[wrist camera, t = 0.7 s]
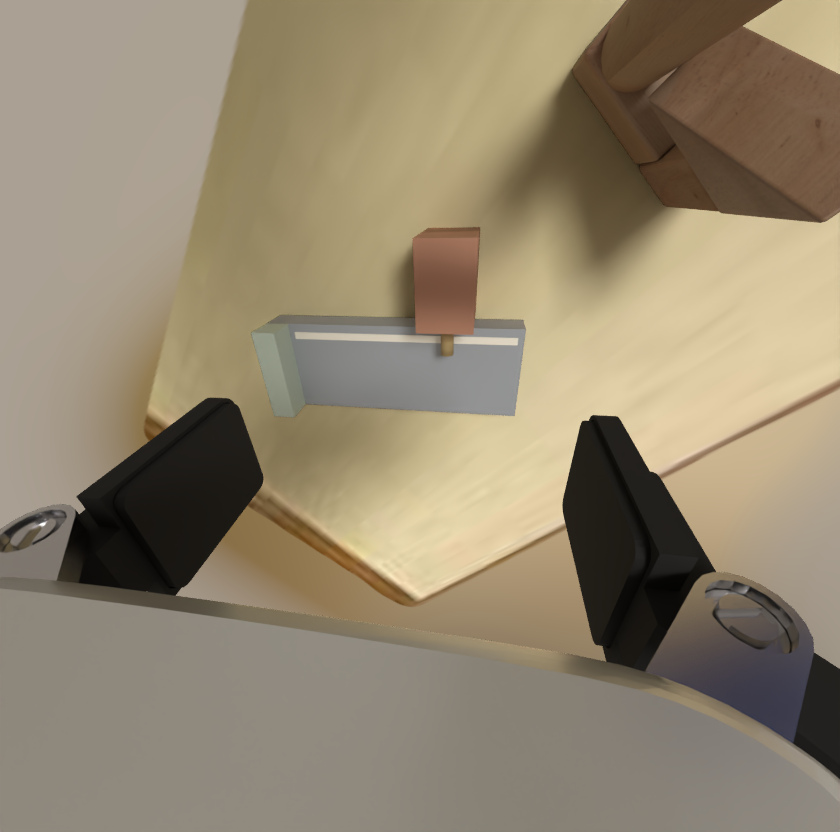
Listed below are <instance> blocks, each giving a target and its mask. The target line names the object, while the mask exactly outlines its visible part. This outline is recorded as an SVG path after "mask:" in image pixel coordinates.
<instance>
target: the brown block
mask: <svg viewBox="0 0 840 832" xmlns="http://www.w3.org/2000/svg"><path fill="white" fill-rule="evenodd" d="M479 241H480V227H473V228H428V229H426V230H425V231H423V232H422V233H420V234H419V235H417V236H416V237H414V238H413V264H414V294H415V324H416V333H422V334H441V355H442V356H445V357H450V356H453V354H454V334H461V335H473V334H474V323H475V312H476V296H477V278H478V259H479Z"/></svg>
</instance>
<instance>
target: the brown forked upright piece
mask: <svg viewBox="0 0 840 832" xmlns="http://www.w3.org/2000/svg"><path fill="white" fill-rule="evenodd" d="M780 1H782V0H626V1H625V3H624V4H623V5H622V6H621V7H620V9H619V10H618V11H617V12H616V13H615V14H614V16H613V17H612V18H611V19H610V20H609V22H608V23H607V24H606V25H605V26H604V28H603V29H602V30H601V31H600V32H599V33H598V35H597V36H596V37H595V38H594V39H593V41H592V42H591V43H590V44H589V45H588V46H587V48H586V49H585V50H584V52H583V53H582V55H581V56H580V58H579V59H578V60H577V62H576V63H575V65H574V67H573V69H572V71H573V75H574V76H575V78H576V79H577V81H578V82H579V84H580V85H581V87H582V88H583V89H584V91H585V92H586V94H587V95H588V97H589V98H590V99H591V101H592V102H593V104H594V105H595V107H596V108H597V110H598V111H599V112H600V114H601V115H602V117H603V118H604V120H605V121H606V122H607V124H608V125H609V127H610V128H611V130H612V131H613V133H614V134H615V135H616V137H617V138H618V140H619V141H620V143H621V144H622V145H623V147H624V148H625V150H626V151H627V153H628V154H629V156H630V157H631V158H632V160H633V161H634V163H636V164H641V165H640V166H639V167H640V172H641V173H642V174H643V176H644V177H645V179H646V180H647V182H648V183H649V184H650V186H651V187H652V189H653V190H654V192H655V193H656V194H657V196H658V197H659V199H660V200H661V202H662V203H663V205H665V206H667V207H676V208H687V209H698V210H709V211H719V212H721V213H725V214H735V215H746V216H756V217H766V218H777V219H787V220H797V221H808V222H818V223H821V222H825V221H827V220H829V219H830V218H832V217H833V216H834V215H836V214H837V213H839V212H840V74H838V73H836V72H834V71H832V70H829V69H827V68H825V67H823V66H821V65H819V64H817V63H815V62H813V61H811V60H809V59H807V58H805V57H803V56H801V55H799V54H797V53H795V52H793V51H791V50H789V49H787V48H785V47H783V46H781V45H779V44H777V43H775V42H773V41H771V40H769V39H767V38H765V37H763V36H761V35H759V34H757V33H755V32H753V31H751V30H749V29H747V28H745V27H743V25H744V24H746V23H747V22H749V21H750V20H752V19H754V18H755V17H757V16H758V15H760V14H761V13H763V12H764V11H766V10H768V9H769V8H771V7H772V6H774V5H775V4H777V3H778V2H780Z"/></svg>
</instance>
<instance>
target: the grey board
mask: <svg viewBox="0 0 840 832" xmlns="http://www.w3.org/2000/svg"><path fill="white" fill-rule="evenodd" d="M525 332H526V328H525V325H524V321H523V320H501V319H475V323H474V334H473V335H461V334H454V354H453V356H450V357H445V356H442V355H441V334H422V333H416V324H415V318H399V317H349V316H298V315H280V316H278V317H276V318H275V319H273V320H271V321H270V322H268V323H266V324H265V325H263V326H261V327H260V328H258V329H257V330H255V331H253V332H252V333H251V335H252V339H253V342H254V346H255V349H256V353H257V356H258V360H259V364H260V367H261V371H262V374H263V378H264V381H265V385H266V388H267V392H268V395H269V399H270V403H271V406H272V410H273V413H274V416H279V417H295V416H296V415H297V414H298V413H299V411H300V410H301V409H302V408H303V407H304V406H305V404H314V405H331V406H348V407H366V408H383V409H401V410H418V411H435V412H453V413H470V414H488V415H505V416H515V409H516V401H517V393H518V386H519V378H520V370H521V363H522V355H523V347H524V340H525Z"/></svg>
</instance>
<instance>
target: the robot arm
mask: <svg viewBox="0 0 840 832" xmlns="http://www.w3.org/2000/svg"><path fill="white" fill-rule="evenodd" d="M262 484H263V474H262V471H261V468H260V465H259V462H258V459H257V457H256V454H255V451H254V448H253V445H252V443H251V440H250V437H249V434H248V431H247V428H246V426H245V423H244V420H243V417H242V414H241V412H240V409H239V407H238V406H237V405H236V404H234V402H233V401H232V400H230V399H227V398H207V399H205V400H204V401H202V402H201V403H200V404H198V405H197V406H196V407H194V408H193V409H192V410H190V411H189V412H188V413H186V414H185V415H184V416H182V417H181V418H180V419H178V420H177V421H176V422H174V423H173V424H172V425H170V426H169V427H168V428H167V429H165V430H164V431H163V432H161V433H160V434H159V435H157V436H156V437H155V438H153V439H152V440H151V441H149V442H148V443H147V444H146V445H144V446H143V447H141V448H140V449H139V450H137V451H136V452H135V453H133V454H132V455H131V456H129V457H128V458H127V459H125V460H124V461H123V462H121V463H120V464H119V465H118V466H116V467H115V468H113V469H112V470H111V471H109V472H108V473H107V474H106V475H104V476H103V477H102V478H100V479H99V480H98V481H97V482H95V483H94V484H92V485H91V486H90V487H88V488H87V489H86V490H84V491H83V492H82V493H80V494H79V495H78V496H77V498H78V499H79V501H80V502H81V503H82V504H83V506H84V507H85V510H84V511H83V512H82V513H80V514H78V512H77V511H76V510H75V509H74V508H73V507H72V506H70V505H65V504H61V505H51V506H47V507H44V508H40V509H37V510H35V511H32V512H30V513H27V514H25V515H23V516H21V517H19V518H17V519H15V520H14V521H12V522H10V523H9V524H7V525H6V526H4V527H3V528H1V529H0V832H840V669H839V668H837V667H836V666H834V665H833V664H831V663H829V662H828V661H826V660H825V659H823V658H822V657H820V656H819V655H817V654H816V653H814V642H813V637H812V635H811V633H810V631H809V629H808V627H807V625H806V623H805V622H804V621H803V619H802V618H801V617H800V616H799V615H798V613H797V612H796V611H795V610H794V609H793V608H792V607H791V606H790V605H789V604H788V603H786V602H785V601H784V600H783V599H782V598H781V597H779V596H778V595H777V594H775V593H773V592H772V591H770V590H769V589H767V588H766V587H764V586H762V585H761V584H759V583H756V582H754V581H752V580H750V579H747V578H745V577H742V576H739V575H735V574H731V573H725V572H723V573H722V572H716V571H715V569H714V568H713V566H712V564H711V562H710V561H709V559H708V557H707V556H706V554H705V552H704V551H703V549H702V547H701V546H700V544H699V542H698V541H697V539H696V538H695V536H694V534H693V532H692V530H691V529H690V527H689V525H688V524H687V522H686V521H685V519H684V517H683V515H682V514H681V512H680V510H679V509H678V507H677V505H676V504H675V502H674V500H673V499H672V497H671V495H670V494H669V492H668V490H667V489H666V487H665V485H664V483H663V482H662V480H661V479H660V477H659V476H658V475H657V474H656V473H654V472H650V471H649V469H648V468H647V466H646V464H645V462H644V461H643V459H642V457H641V455H640V454H639V452H638V450H637V448H636V447H635V445H634V443H633V441H632V440H631V438H630V436H629V434H628V433H627V431H626V429H625V427H624V426H623V424H622V422H621V420H620V419H619V418H618V417H616V416H597V415H592V416H591V417H590V419H589V421H582V423H581V425H580V429H579V434H578V438H577V442H576V446H575V451H574V455H573V459H572V464H571V468H570V472H569V476H568V481H567V485H566V489H565V493H564V498H563V515H564V519H565V523H566V528H567V532H568V536H569V540H570V545H571V549H572V553H573V558H574V562H575V565H576V570H577V575H578V578H579V583H580V587H581V592H582V596H583V600H584V605H585V609H586V613H587V617H588V621H589V626H590V630H591V634H592V638H593V641H594V643H595V644H596V645H600V646H603V650H604V654H605V658H606V662H605V661H600V660H595V659H591V658H586V657H580V656H576V655H572V654H565V653H560V652H554V651H547V650H541V649H536V648H530V647H523V646H516V645H511V644H505V643H499V642H492V641H487V640H480V639H474V638H468V637H461V636H454V635H446V634H440V633H433V632H426V631H419V630H413V629H406V628H399V627H393V626H386V625H378V624H371V623H365V622H358V621H352V620H344V619H338V618H330V617H324V616H317V615H309V614H302V613H295V612H288V611H281V610H274V609H267V608H259V607H253V606H246V605H239V604H231V603H224V602H216V601H210V600H202V599H195V598H188V597H181V596H175V595H176V594H177V593H178V591H179V590H180V589H181V588H182V587H184V586H186V585H187V584H188V583H189V582H190V581H191V580H192V578H193V577H194V575H195V574H196V573H197V572H198V570H199V569H200V568H201V566H202V565H203V564H204V562H205V561H206V560H207V558H208V557H209V556H210V554H211V553H212V552H213V550H214V549H215V548H216V546H217V545H218V544H219V542H220V541H221V540H222V538H223V537H224V536H225V534H226V533H227V532H228V530H229V529H230V528H231V526H232V525H233V524H234V522H235V521H236V520H237V518H238V517H239V516H240V514H241V513H242V512H243V510H244V509H245V508H246V506H247V505H248V504H249V502H250V501H251V500H252V498H253V497H254V496H255V495H256V493H257V492H258V491H259V489H260V488H261V486H262ZM146 591H147V592H146Z"/></svg>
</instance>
